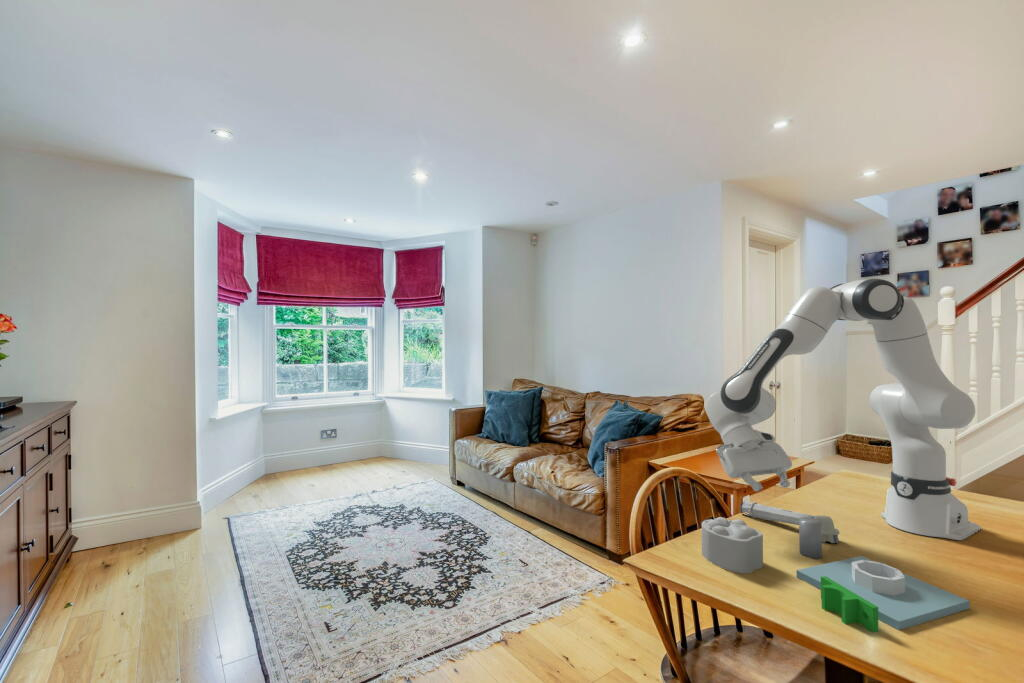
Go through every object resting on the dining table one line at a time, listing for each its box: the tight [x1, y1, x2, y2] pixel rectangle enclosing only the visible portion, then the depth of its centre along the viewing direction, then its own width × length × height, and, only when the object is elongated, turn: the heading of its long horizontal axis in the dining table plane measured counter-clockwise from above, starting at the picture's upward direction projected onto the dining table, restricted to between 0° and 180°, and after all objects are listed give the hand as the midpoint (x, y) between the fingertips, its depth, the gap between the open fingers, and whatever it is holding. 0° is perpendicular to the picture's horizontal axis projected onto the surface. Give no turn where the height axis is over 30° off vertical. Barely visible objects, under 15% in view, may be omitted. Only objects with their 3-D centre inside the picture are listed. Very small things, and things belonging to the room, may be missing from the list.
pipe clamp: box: [820, 576, 879, 634], centre depth 87 cm, size 11×4×5 cm, turn 10°
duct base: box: [796, 555, 971, 631], centre depth 95 cm, size 20×20×4 cm
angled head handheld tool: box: [739, 501, 840, 544], centre depth 129 cm, size 5×7×25 cm
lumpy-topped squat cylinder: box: [701, 516, 764, 575], centre depth 110 cm, size 10×13×9 cm
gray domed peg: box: [798, 517, 823, 560], centre depth 112 cm, size 5×5×8 cm
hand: (773, 488), depth 122 cm, fingers open, 8 cm apart
